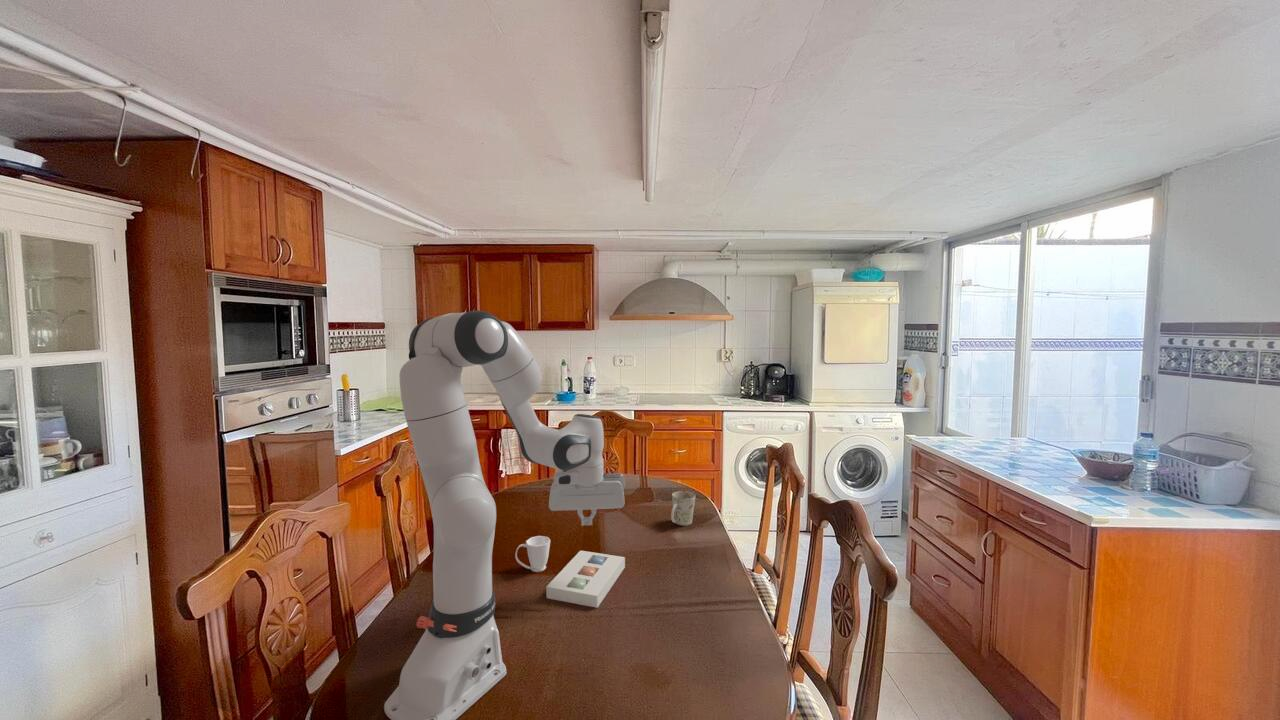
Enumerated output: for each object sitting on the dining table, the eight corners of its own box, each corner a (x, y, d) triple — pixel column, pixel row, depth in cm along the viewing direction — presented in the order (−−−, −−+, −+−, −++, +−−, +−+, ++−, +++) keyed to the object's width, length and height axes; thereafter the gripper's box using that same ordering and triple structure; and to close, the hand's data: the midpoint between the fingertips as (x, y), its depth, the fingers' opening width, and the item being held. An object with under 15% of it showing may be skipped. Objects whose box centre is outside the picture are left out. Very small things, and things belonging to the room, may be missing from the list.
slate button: (601, 573, 130) (601, 563, 130) (588, 571, 131) (587, 561, 131) (606, 566, 134) (606, 556, 133) (593, 564, 135) (593, 554, 135)
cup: (549, 574, 130) (548, 546, 130) (512, 575, 130) (512, 546, 129) (552, 561, 137) (552, 535, 137) (518, 562, 137) (517, 535, 136)
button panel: (597, 607, 114) (597, 596, 114) (546, 598, 118) (546, 586, 118) (624, 567, 134) (624, 557, 134) (580, 560, 138) (580, 550, 138)
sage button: (581, 599, 117) (581, 587, 117) (567, 596, 119) (567, 584, 118) (588, 590, 121) (588, 579, 121) (574, 588, 122) (574, 577, 122)
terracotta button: (592, 585, 124) (591, 574, 123) (578, 583, 125) (578, 572, 125) (597, 578, 127) (597, 567, 127) (584, 575, 129) (584, 565, 128)
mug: (699, 520, 167) (699, 493, 167) (683, 533, 157) (683, 504, 156) (678, 516, 172) (678, 489, 171) (661, 527, 161) (661, 499, 161)
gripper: (624, 469, 129) (624, 518, 130) (549, 471, 126) (549, 521, 127) (626, 476, 123) (626, 527, 123) (548, 478, 120) (548, 531, 121)
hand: (586, 524), depth 125 cm, fingers closed
